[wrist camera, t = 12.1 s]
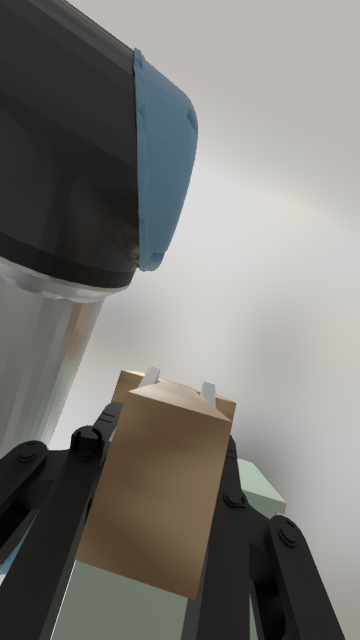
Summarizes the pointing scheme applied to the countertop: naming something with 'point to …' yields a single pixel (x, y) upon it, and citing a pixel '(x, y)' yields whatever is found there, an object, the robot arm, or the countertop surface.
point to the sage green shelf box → (143, 590)
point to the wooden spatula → (158, 485)
